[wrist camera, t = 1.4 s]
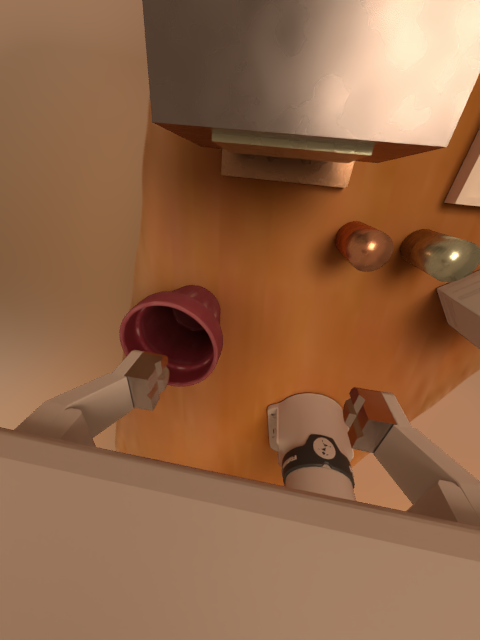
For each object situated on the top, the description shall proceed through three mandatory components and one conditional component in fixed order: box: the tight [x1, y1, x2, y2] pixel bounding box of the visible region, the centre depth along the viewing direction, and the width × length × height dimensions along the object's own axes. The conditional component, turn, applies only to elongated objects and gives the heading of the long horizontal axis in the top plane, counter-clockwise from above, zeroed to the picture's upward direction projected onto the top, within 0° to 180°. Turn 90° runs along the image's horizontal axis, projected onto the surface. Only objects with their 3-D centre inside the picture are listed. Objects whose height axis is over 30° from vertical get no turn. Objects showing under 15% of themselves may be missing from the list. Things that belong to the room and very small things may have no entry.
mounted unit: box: [142, 0, 480, 188], centre depth 19 cm, size 12×16×20 cm
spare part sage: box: [400, 229, 480, 282], centre depth 29 cm, size 4×4×8 cm
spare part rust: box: [335, 221, 393, 272], centre depth 30 cm, size 4×4×8 cm
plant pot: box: [120, 285, 223, 386], centre depth 37 cm, size 14×14×13 cm
